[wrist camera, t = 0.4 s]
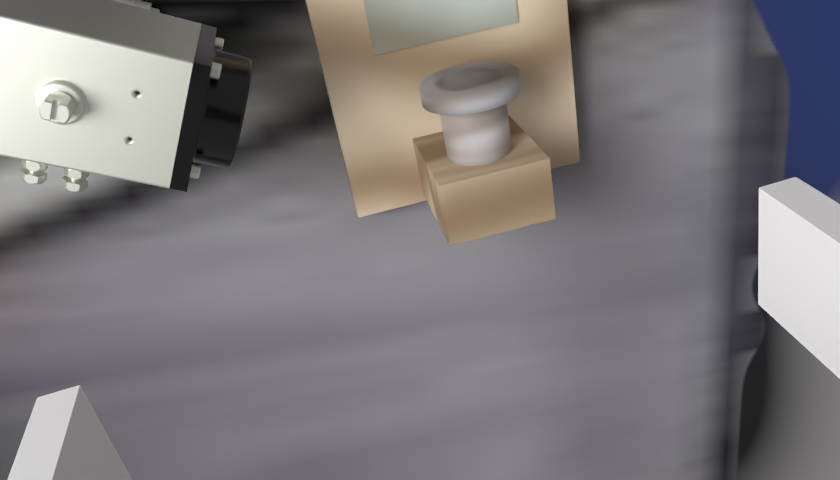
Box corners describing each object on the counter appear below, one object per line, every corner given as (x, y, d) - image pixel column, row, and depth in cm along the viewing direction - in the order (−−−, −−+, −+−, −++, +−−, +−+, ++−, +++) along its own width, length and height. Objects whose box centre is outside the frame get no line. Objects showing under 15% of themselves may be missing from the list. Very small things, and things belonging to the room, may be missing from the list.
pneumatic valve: (-31, -63, 33) (-161, -14, 22) (251, 13, 36) (255, 86, 26) (-40, 65, 35) (-162, 165, 24) (227, 125, 38) (222, 235, 28)
